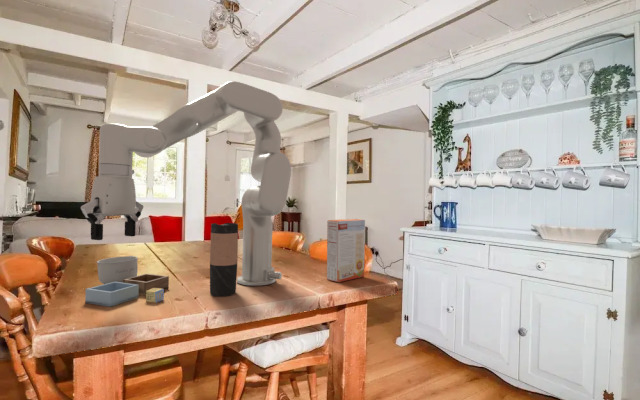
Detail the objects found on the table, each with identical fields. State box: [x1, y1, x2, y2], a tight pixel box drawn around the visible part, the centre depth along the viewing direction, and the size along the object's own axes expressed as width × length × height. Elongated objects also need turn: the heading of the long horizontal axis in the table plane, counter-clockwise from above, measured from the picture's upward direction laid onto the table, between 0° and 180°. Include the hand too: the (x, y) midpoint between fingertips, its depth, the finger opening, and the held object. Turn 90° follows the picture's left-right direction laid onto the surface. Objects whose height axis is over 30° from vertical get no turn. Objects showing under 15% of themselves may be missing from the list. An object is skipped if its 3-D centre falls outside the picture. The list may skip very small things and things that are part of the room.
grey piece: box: [96, 255, 139, 285], centre depth 106 cm, size 14×11×8 cm
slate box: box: [84, 282, 139, 308], centre depth 89 cm, size 8×8×4 cm
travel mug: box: [209, 222, 239, 298], centre depth 98 cm, size 8×8×20 cm
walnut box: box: [123, 273, 170, 296], centre depth 99 cm, size 8×8×4 cm
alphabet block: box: [145, 288, 165, 304], centre depth 90 cm, size 3×3×3 cm
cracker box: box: [326, 218, 366, 283], centre depth 120 cm, size 14×6×21 cm, turn 133°
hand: (114, 237), depth 89 cm, fingers open, 9 cm apart
